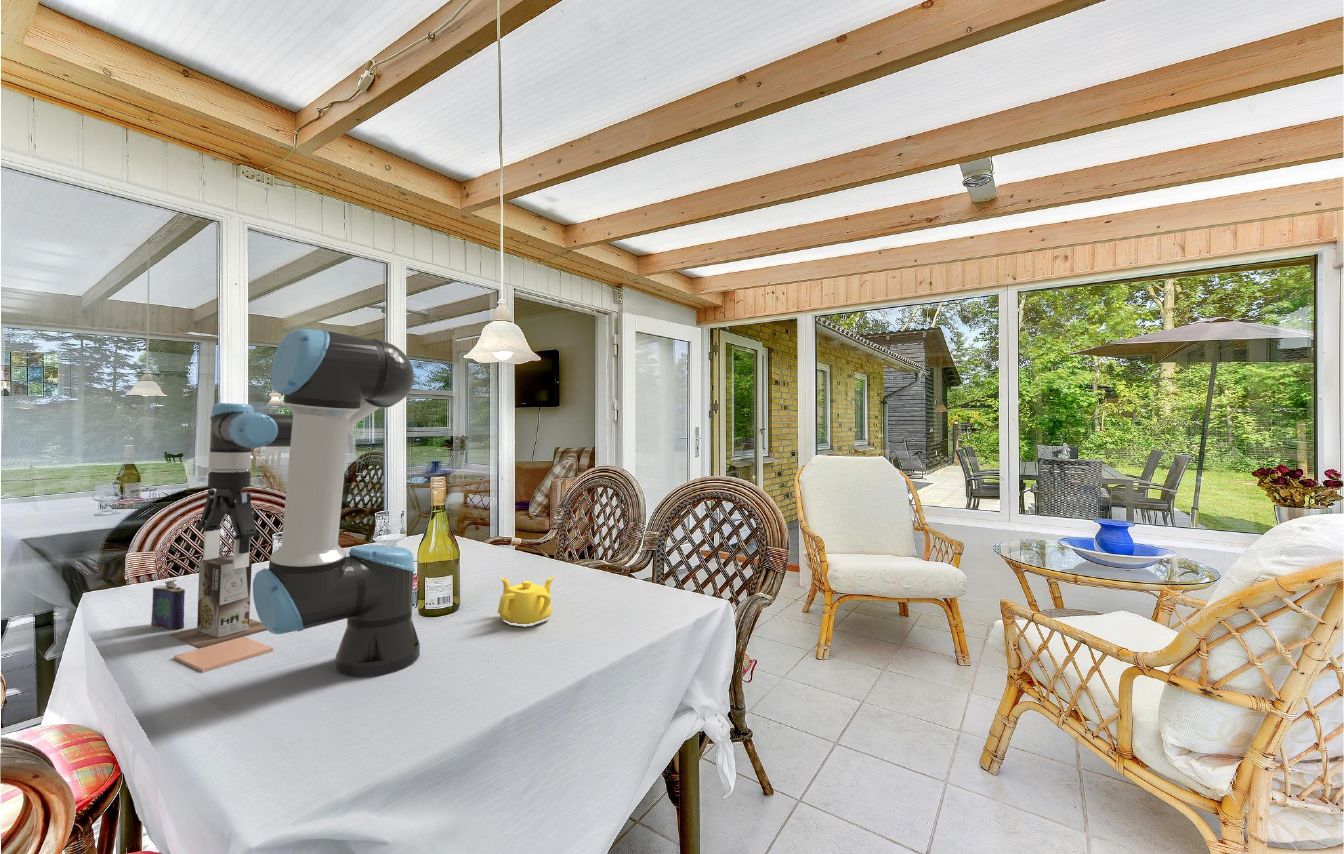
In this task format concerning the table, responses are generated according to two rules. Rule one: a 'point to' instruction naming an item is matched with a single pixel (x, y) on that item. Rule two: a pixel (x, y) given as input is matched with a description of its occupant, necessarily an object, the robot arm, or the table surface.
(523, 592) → the teapot
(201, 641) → the mat
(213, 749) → the table surface
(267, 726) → the table surface
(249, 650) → the pad
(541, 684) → the table surface
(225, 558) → the printed cardboard box
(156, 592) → the flask
